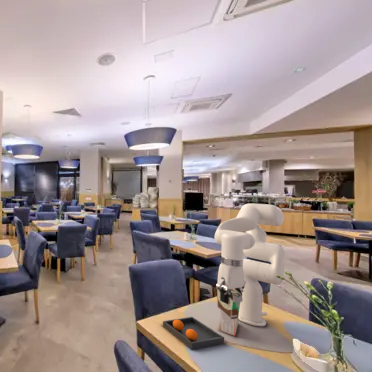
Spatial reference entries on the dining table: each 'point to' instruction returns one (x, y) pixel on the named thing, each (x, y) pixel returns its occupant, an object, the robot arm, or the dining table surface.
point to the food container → (230, 303)
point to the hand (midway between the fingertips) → (231, 300)
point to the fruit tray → (204, 333)
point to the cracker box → (228, 324)
